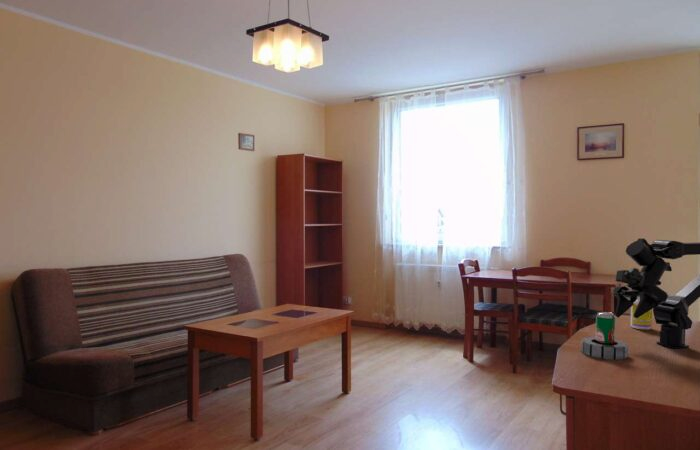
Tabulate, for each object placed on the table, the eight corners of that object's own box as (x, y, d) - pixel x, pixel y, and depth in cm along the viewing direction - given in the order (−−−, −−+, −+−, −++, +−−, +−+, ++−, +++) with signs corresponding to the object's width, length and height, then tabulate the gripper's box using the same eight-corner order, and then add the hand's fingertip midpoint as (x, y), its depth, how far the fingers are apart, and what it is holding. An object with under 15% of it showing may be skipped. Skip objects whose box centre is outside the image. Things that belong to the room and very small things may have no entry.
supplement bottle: (654, 330, 185) (655, 294, 184) (633, 329, 186) (634, 293, 185) (647, 326, 191) (648, 291, 191) (627, 325, 192) (628, 290, 192)
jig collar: (606, 347, 160) (606, 336, 160) (636, 358, 149) (637, 346, 149) (572, 349, 157) (573, 338, 157) (601, 360, 146) (601, 348, 146)
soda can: (591, 351, 156) (592, 311, 155) (608, 351, 156) (609, 311, 155) (600, 356, 150) (601, 315, 150) (617, 356, 151) (618, 315, 150)
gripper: (611, 262, 169) (587, 301, 167) (648, 256, 151) (621, 301, 148) (639, 282, 169) (616, 322, 166) (679, 279, 151) (654, 324, 148)
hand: (625, 317), depth 157 cm, fingers open, 9 cm apart
